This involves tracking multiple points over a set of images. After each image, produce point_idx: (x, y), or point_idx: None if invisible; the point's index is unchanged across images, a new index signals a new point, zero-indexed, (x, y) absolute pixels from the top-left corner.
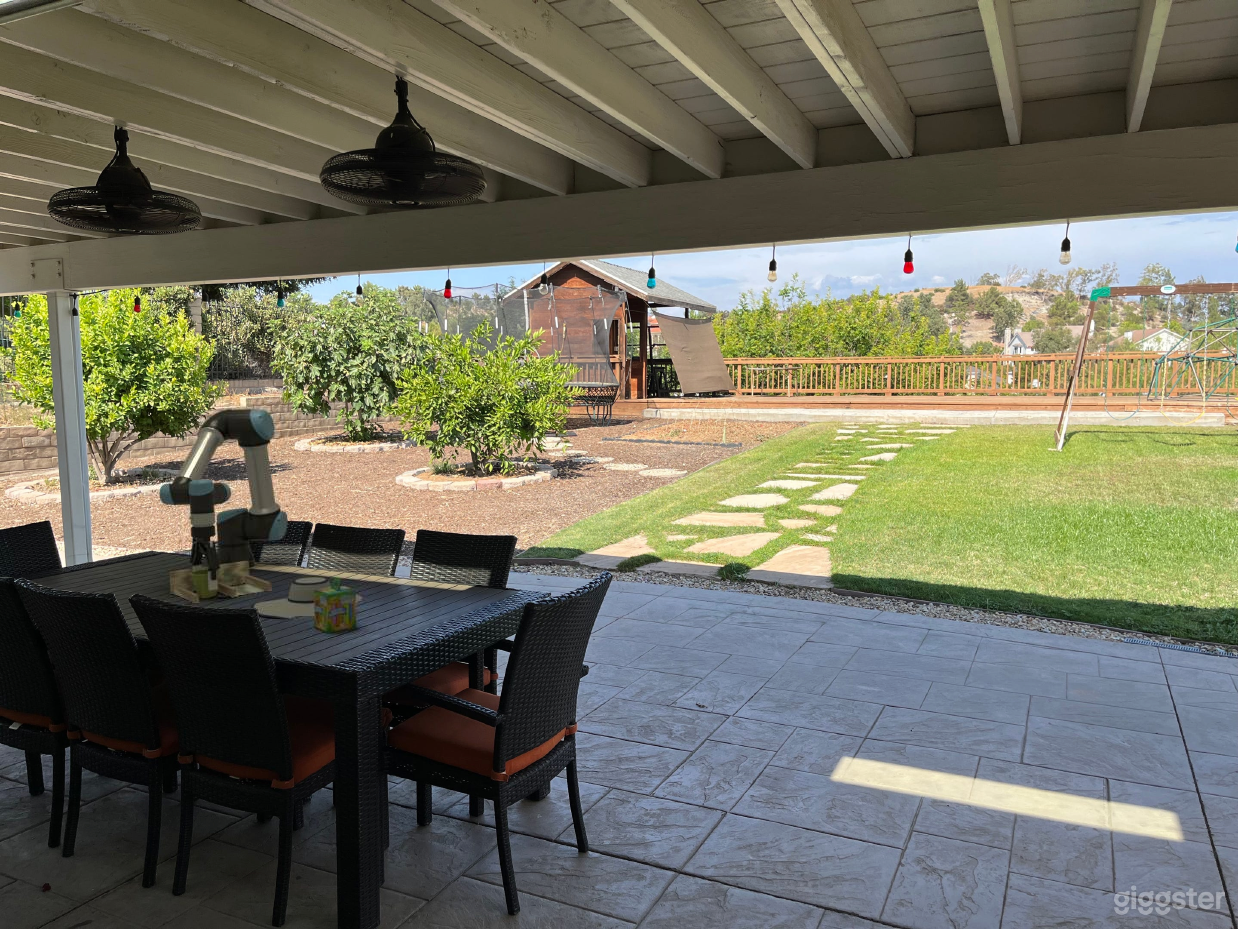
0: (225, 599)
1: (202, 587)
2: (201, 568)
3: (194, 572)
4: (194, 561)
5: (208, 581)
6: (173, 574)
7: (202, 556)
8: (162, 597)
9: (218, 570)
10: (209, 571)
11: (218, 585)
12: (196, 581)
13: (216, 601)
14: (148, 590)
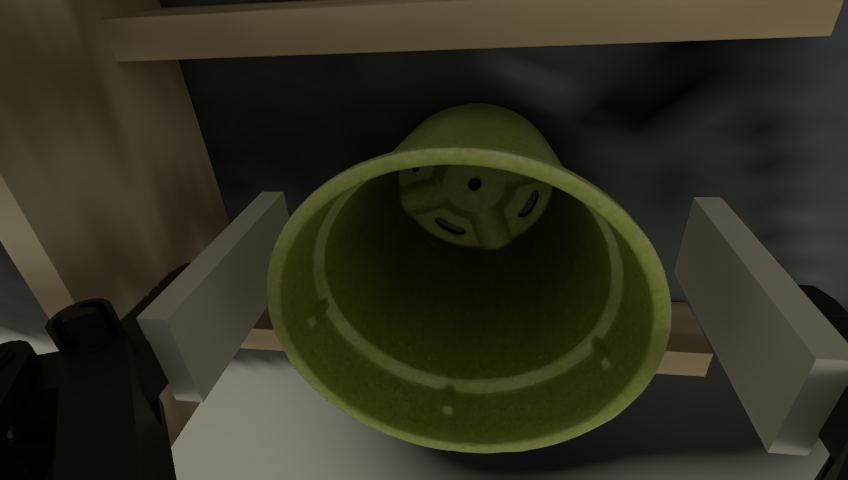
0: (746, 101)
1: (551, 288)
2: (195, 291)
3: (327, 375)
4: (171, 457)
5: (715, 335)
6: (170, 424)
7: (142, 473)
8: (287, 359)
9: (475, 165)
10: (808, 443)
11: (361, 49)
12: (513, 362)
13: (740, 189)
14: (39, 339)
